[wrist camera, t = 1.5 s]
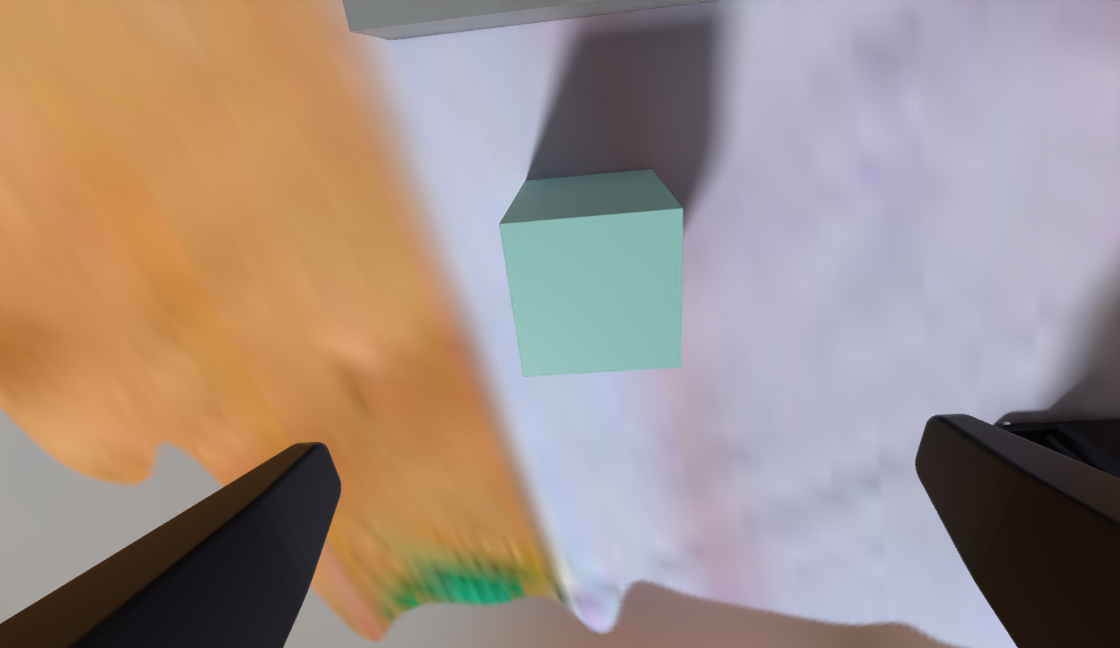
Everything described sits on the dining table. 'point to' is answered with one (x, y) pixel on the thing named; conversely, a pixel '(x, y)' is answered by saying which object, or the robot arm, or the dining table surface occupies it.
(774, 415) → the dining table surface
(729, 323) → the dining table surface
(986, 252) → the dining table surface
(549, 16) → the bin
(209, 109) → the dining table surface
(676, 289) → the block
